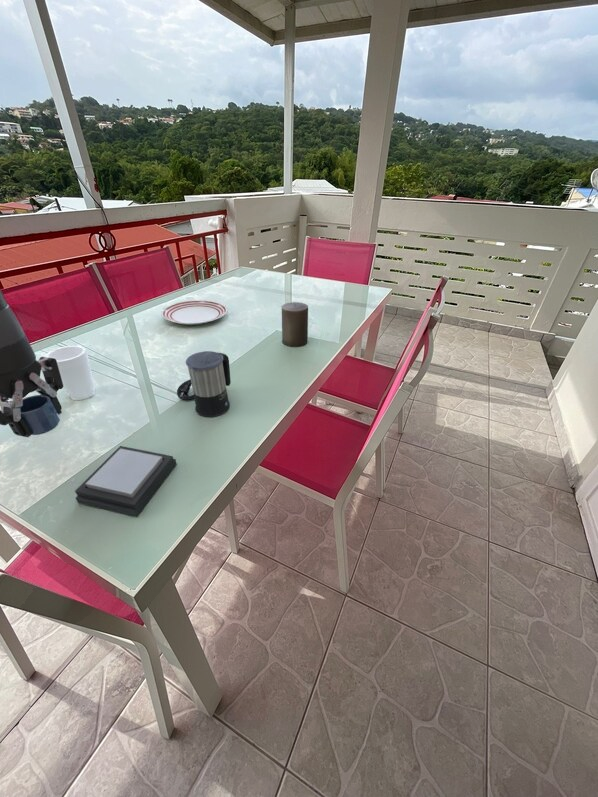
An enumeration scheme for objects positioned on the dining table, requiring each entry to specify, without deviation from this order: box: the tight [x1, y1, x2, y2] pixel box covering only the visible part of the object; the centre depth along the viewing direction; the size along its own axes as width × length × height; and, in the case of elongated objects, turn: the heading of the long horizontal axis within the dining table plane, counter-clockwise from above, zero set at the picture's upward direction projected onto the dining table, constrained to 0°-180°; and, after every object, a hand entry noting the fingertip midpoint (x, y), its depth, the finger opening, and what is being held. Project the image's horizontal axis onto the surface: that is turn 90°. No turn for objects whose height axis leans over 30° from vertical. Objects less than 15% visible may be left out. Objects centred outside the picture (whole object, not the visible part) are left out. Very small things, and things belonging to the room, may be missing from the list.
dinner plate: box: [161, 299, 228, 326], centre depth 144 cm, size 27×27×3 cm
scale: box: [74, 445, 178, 518], centre depth 67 cm, size 14×13×3 cm
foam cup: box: [44, 345, 96, 401], centre depth 91 cm, size 10×9×13 cm
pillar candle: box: [280, 301, 309, 348], centre depth 121 cm, size 10×10×15 cm
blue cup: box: [21, 394, 61, 436], centre depth 59 cm, size 6×6×5 cm
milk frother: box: [176, 350, 232, 418], centre depth 88 cm, size 14×16×15 cm
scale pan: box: [86, 449, 163, 498], centre depth 66 cm, size 10×10×1 cm
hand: (41, 423), depth 60 cm, fingers closed on blue cup, 5 cm apart
